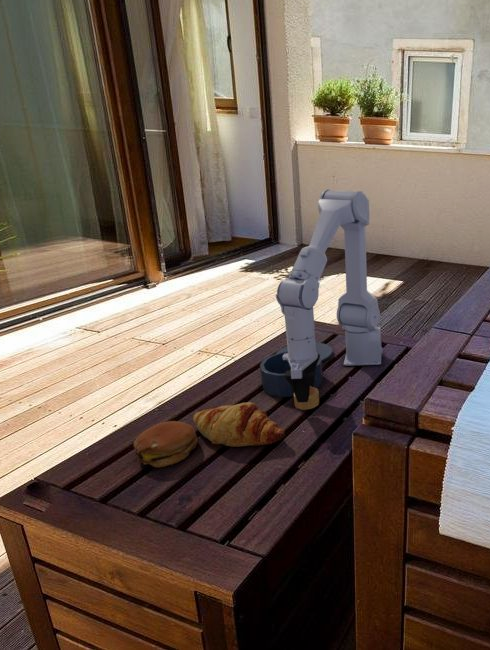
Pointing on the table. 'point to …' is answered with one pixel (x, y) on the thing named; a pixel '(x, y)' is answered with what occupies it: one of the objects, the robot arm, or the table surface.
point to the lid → (321, 349)
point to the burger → (165, 443)
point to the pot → (282, 375)
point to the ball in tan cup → (312, 400)
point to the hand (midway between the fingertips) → (305, 394)
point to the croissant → (237, 425)
